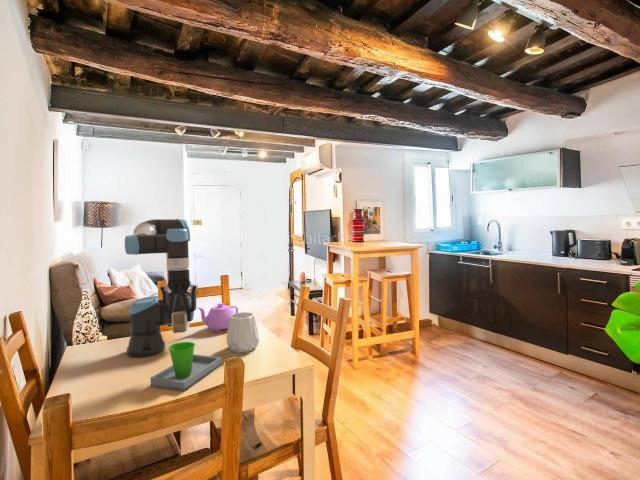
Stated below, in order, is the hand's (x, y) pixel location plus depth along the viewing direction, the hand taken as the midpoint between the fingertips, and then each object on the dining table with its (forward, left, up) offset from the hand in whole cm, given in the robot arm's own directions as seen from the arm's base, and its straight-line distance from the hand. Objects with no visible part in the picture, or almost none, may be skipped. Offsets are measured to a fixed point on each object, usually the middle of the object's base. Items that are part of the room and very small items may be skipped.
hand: (180, 329), depth 130 cm
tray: (+6, -3, -16) cm, 17 cm away
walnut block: (0, 0, 0) cm, 0 cm away
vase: (+12, +26, -16) cm, 32 cm away
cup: (+5, -6, -15) cm, 17 cm away
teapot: (-14, +47, -16) cm, 51 cm away
